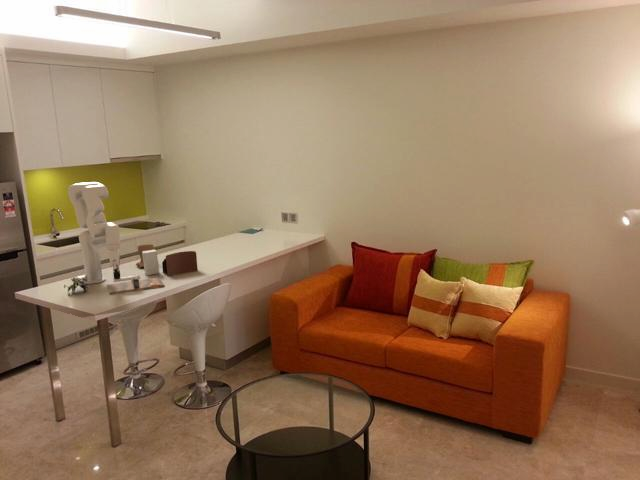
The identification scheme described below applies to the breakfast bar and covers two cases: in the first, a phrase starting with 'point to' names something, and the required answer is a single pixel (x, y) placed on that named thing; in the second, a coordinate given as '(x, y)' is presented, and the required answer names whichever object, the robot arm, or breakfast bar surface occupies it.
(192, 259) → the letter holder
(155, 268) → the skincare box
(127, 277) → the crank handle
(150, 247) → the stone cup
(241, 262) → the breakfast bar surface
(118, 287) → the jamb plate
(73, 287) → the passion flower
